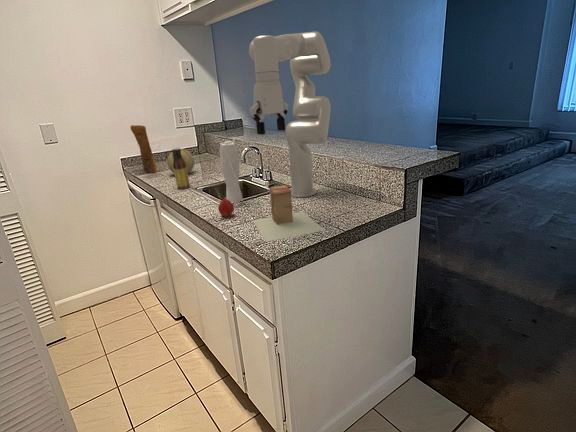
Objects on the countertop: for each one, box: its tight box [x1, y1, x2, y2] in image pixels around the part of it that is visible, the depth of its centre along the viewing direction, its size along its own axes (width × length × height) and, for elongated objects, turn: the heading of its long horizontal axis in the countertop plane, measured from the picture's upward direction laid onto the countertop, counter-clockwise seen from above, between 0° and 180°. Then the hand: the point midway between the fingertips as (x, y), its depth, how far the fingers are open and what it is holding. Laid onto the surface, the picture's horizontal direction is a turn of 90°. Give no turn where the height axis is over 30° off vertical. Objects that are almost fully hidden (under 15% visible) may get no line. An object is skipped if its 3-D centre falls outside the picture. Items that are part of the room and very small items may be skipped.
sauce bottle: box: [171, 147, 190, 190], centre depth 177 cm, size 7×6×20 cm
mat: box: [252, 211, 325, 243], centre depth 126 cm, size 20×20×1 cm
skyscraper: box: [219, 137, 244, 206], centre depth 149 cm, size 8×8×28 cm
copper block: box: [269, 184, 293, 225], centre depth 128 cm, size 6×6×12 cm
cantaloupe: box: [166, 148, 195, 174], centre depth 205 cm, size 15×15×15 cm
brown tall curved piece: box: [129, 124, 158, 174], centre depth 215 cm, size 7×19×28 cm, turn 39°
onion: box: [218, 197, 235, 218], centre depth 136 cm, size 6×6×8 cm
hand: (271, 132), depth 122 cm, fingers open, 9 cm apart
